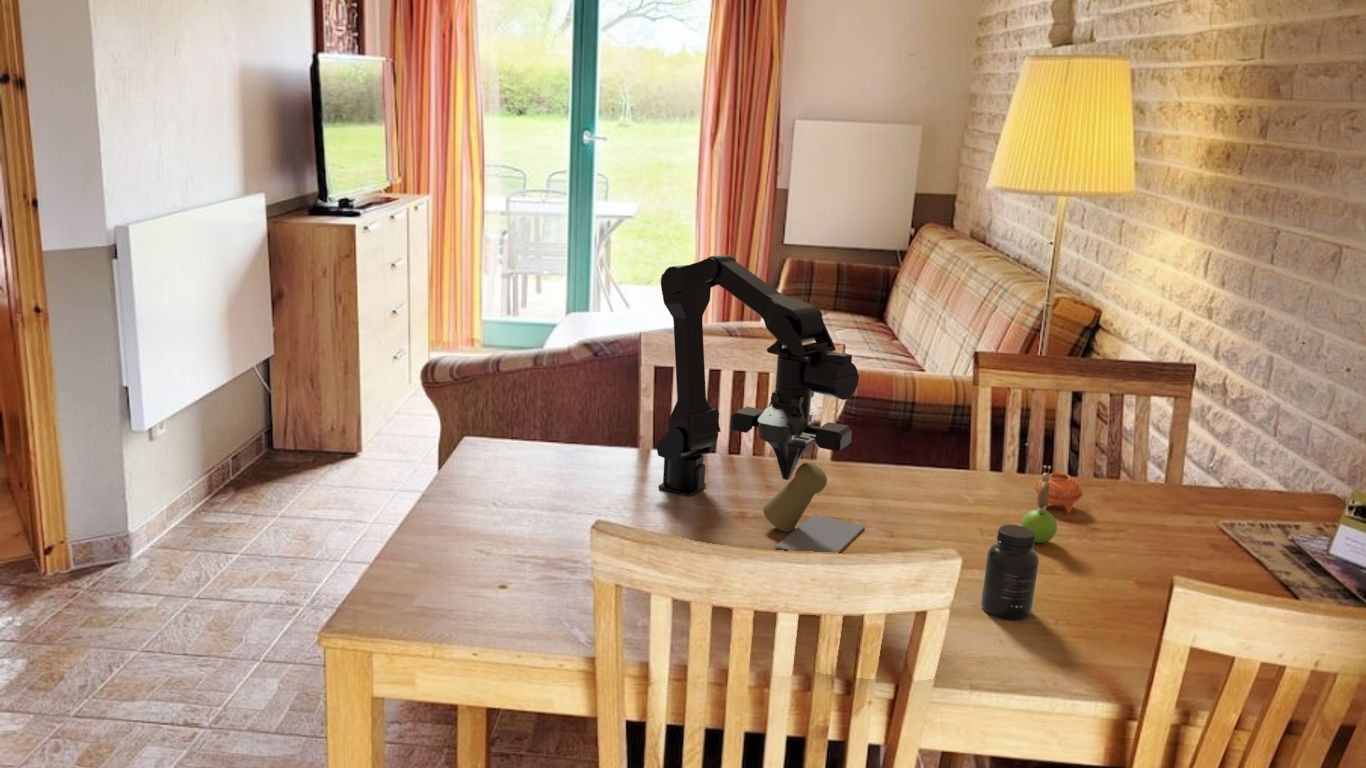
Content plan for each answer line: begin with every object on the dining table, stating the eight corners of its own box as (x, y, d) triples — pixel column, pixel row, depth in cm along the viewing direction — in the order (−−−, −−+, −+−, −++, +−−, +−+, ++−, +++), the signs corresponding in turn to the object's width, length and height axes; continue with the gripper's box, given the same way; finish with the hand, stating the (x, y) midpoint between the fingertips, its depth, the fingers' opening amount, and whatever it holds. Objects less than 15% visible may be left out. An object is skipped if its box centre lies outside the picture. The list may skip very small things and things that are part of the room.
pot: (1092, 510, 189) (1092, 476, 186) (1058, 525, 186) (1058, 491, 184) (1058, 493, 196) (1058, 460, 193) (1026, 507, 193) (1025, 474, 190)
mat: (775, 548, 166) (775, 545, 166) (813, 516, 180) (813, 514, 180) (829, 562, 162) (830, 559, 162) (864, 528, 176) (864, 526, 176)
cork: (790, 537, 171) (830, 489, 167) (760, 515, 171) (799, 466, 167) (796, 520, 177) (835, 473, 172) (766, 499, 177) (804, 451, 172)
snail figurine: (1054, 536, 177) (1064, 467, 174) (1054, 550, 171) (1064, 480, 168) (1020, 530, 179) (1030, 462, 176) (1019, 544, 173) (1028, 474, 170)
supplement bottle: (973, 598, 153) (983, 520, 149) (1019, 599, 153) (1031, 521, 150) (990, 621, 146) (1002, 540, 143) (1038, 622, 147) (1051, 541, 143)
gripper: (717, 385, 165) (712, 481, 169) (831, 406, 157) (822, 506, 161) (748, 372, 175) (741, 462, 179) (856, 391, 166) (847, 485, 170)
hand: (786, 479), depth 172 cm, fingers closed
